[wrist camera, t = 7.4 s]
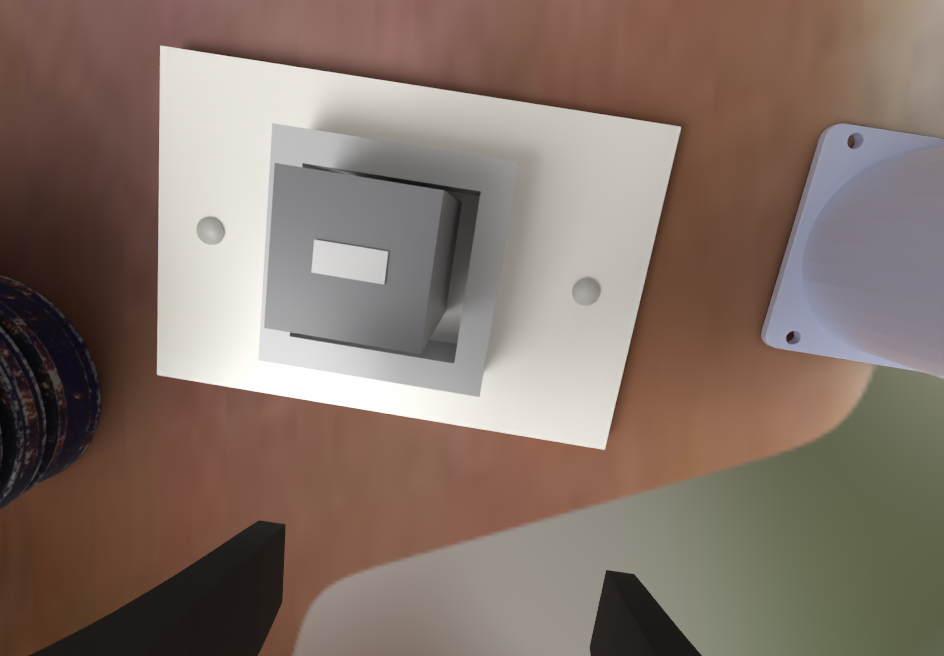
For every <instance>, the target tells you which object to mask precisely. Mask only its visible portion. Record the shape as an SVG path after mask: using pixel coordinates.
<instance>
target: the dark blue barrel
mask: <svg viewBox="0 0 944 656" xmlns="http://www.w3.org/2000/svg"><path fill="white" fill-rule="evenodd" d="M100 408H101V396H100V386H99V380H98V375H97V371H96V368H95V365H94V363H93V360H92V357H91V355H90V353H89V351H88V349H87V347H86V345H85V343H84V341H83V339H82V338H81V336H80V335H79V333H78V332H77V330H76V329H75V328H74V326H73V325H72V323H71V322H70V321H69V320H68V319H67V318H66V317H65V316H64V315H63V313H62V312H61V311H60V310H59V309H58V308H57V307H55V306H54V305H53V304H52V303H51V302H50V301H48V300H47V299H46V298H45V297H44V296H42V295H41V294H39V293H37V292H36V291H34V290H33V289H31V288H30V287H28V286H26V285H24V284H22V283H20V282H18V281H16V280H14V279H12V278H9V277H6V276H3V275H0V509H2V508H3V507H5V506H7V505H9V504H10V503H11V502H12V501H14V500H15V499H16V498H17V497H19V496H20V495H21V494H22V493H24V492H26V491H28V490H29V489H31V488H32V487H34V486H35V485H36V484H37V483H40V482H43V481H45V480H46V479H48V478H50V477H52V476H54V475H56V474H58V473H59V472H61V471H63V470H65V469H66V468H68V467H69V466H70V465H71V464H73V463H74V462H75V461H76V460H78V459H79V457H80V456H81V455H82V454H83V453H84V451H85V450H86V449H87V447H88V446H89V444H90V442H91V440H92V438H93V437H94V434H95V431H96V428H97V425H98V422H99V415H100Z"/></svg>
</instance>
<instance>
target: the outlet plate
mask: <svg viewBox="0 0 944 656" xmlns="http://www.w3.org/2000/svg"><path fill="white" fill-rule="evenodd" d="M680 130H681V127H680V126H674V125H667V124H661V123H654V122H648V121H641V120H635V119H629V118H622V117H616V116H609V115H603V114H597V113H590V112H584V111H577V110H571V109H564V108H558V107H552V106H545V105H539V104H532V103H526V102H519V101H513V100H507V99H500V98H494V97H487V96H481V95H475V94H468V93H462V92H455V91H449V90H442V89H436V88H430V87H423V86H417V85H410V84H404V83H397V82H391V81H385V80H378V79H372V78H365V77H359V76H353V75H346V74H340V73H333V72H327V71H320V70H314V69H308V68H301V67H295V66H288V65H282V64H275V63H269V62H263V61H256V60H250V59H243V58H237V57H231V56H224V55H218V54H211V53H205V52H198V51H192V50H186V49H179V48H173V47H166V46H160V120H159V222H158V324H157V375H160V376H166V377H172V378H178V379H184V380H190V381H196V382H202V383H208V384H214V385H220V386H226V387H232V388H238V389H244V390H250V391H256V392H262V393H268V394H274V395H280V396H286V397H292V398H298V399H304V400H310V401H316V402H322V403H328V404H334V405H340V406H346V407H352V408H358V409H364V410H370V411H376V412H382V413H388V414H394V415H400V416H406V417H412V418H418V419H424V420H430V421H436V422H442V423H448V424H454V425H460V426H465V427H471V428H477V429H483V430H489V431H495V432H501V433H507V434H513V435H519V436H525V437H531V438H537V439H543V440H549V441H555V442H561V443H567V444H573V445H579V446H585V447H591V448H597V449H603V450H605V447H606V442H607V438H608V434H609V430H610V426H611V421H612V417H613V413H614V409H615V404H616V400H617V396H618V392H619V388H620V383H621V379H622V375H623V371H624V366H625V362H626V358H627V354H628V350H629V345H630V341H631V337H632V333H633V329H634V324H635V320H636V316H637V312H638V307H639V303H640V299H641V295H642V291H643V286H644V282H645V278H646V274H647V270H648V265H649V261H650V257H651V253H652V248H653V244H654V240H655V236H656V232H657V227H658V223H659V219H660V215H661V211H662V206H663V202H664V198H665V194H666V189H667V185H668V181H669V177H670V173H671V168H672V164H673V160H674V156H675V152H676V147H677V143H678V139H679V135H680ZM275 163H279V164H285V165H291V166H297V167H303V168H309V169H316V170H322V171H328V172H334V173H340V174H346V175H352V176H359V177H365V178H371V179H377V180H383V181H389V182H395V183H402V184H408V185H414V186H420V187H426V188H432V189H438V190H444V191H445V192H447V193H448V194H450V195H451V196H453V197H454V198H456V199H458V200H459V201H461V202H462V206H461V213H460V219H459V226H458V233H457V239H456V246H455V253H454V259H453V266H452V273H451V279H450V286H449V293H448V299H447V306H446V312H445V314H444V315H443V317H442V319H441V320H440V322H439V324H438V325H437V327H436V329H435V331H434V332H433V334H432V336H431V337H430V339H429V341H428V342H427V344H426V346H425V348H424V349H423V351H422V353H421V354H416V353H410V352H404V351H398V350H392V349H386V348H380V347H374V346H368V345H362V344H357V343H351V342H345V341H339V340H333V339H327V338H321V337H315V336H309V335H303V334H297V333H291V332H285V331H279V330H273V329H267V328H264V322H265V307H266V291H267V276H268V260H269V245H270V229H271V214H272V198H273V183H274V167H275Z"/></svg>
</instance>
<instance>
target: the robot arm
mask: <svg viewBox="0 0 944 656" xmlns="http://www.w3.org/2000/svg"><path fill="white" fill-rule="evenodd" d="M850 135H851V136H853V137H854V139H855V144H854V146H853V148H849V146H848V144H847V140H848V138H849V136H850ZM791 331H793V332H794V337H793V339H792V340H791V341H789V342H787V341H786V336H787V334H788V333H789V332H791ZM761 337H762V340H763V342H764V343H765V344H767V345H769V346H771V347H774V348H779V349H785V350H791V351H797V352H803V353H809V354H815V355H822V356H828V357H834V358H840V359H846V360H852V361H858V362H865V363H871V364H877V365H883V366H889V367H895V368H901V369H908V370H914V371H920V372H925V373H928V374H931V375H934V376H936V377H939V378H942V379H944V139H942V138H936V137H929V136H923V135H916V134H910V133H903V132H897V131H891V130H884V129H878V128H871V127H865V126H858V125H852V124H845V123H842V124H836V125H832V126H830V127H828V128H826V129H825V130H824V131H823V132H822V134H821V136H820V138H819V141H818V144H817V147H816V151H815V154H814V158H813V161H812V164H811V168H810V171H809V174H808V178H807V181H806V184H805V188H804V191H803V194H802V198H801V201H800V204H799V208H798V211H797V214H796V218H795V221H794V224H793V228H792V231H791V234H790V238H789V241H788V245H787V248H786V251H785V255H784V258H783V261H782V265H781V268H780V271H779V275H778V278H777V281H776V285H775V288H774V291H773V295H772V298H771V301H770V305H769V308H768V311H767V315H766V318H765V321H764V325H763V328H762V332H761ZM285 525H286V524H279V523H272V522H265V521H258V522H256V523H254V524H253V525H251V526H249V527H248V528H246V529H245V530H243V531H242V532H240V533H239V534H237V535H236V536H234V537H233V538H231V539H230V540H228V541H227V542H225V543H224V544H222V545H221V546H219V547H218V548H216V549H215V550H213V551H212V552H210V553H209V554H207V555H206V556H204V557H203V558H201V559H199V560H198V561H196V562H195V563H193V564H192V565H190V566H189V567H187V568H186V569H184V570H182V571H181V572H179V573H178V574H176V575H175V576H173V577H172V578H170V579H168V580H167V581H165V582H163V583H162V584H160V585H158V586H157V587H155V588H153V589H152V590H150V591H148V592H146V593H145V594H143V595H141V596H140V597H138V598H136V599H135V600H133V601H131V602H130V603H128V604H126V605H125V606H123V607H121V608H120V609H118V610H116V611H114V612H113V613H111V614H109V615H107V616H105V617H104V618H102V619H100V620H98V621H96V622H94V623H93V624H91V625H89V626H87V627H85V628H83V629H81V630H79V631H77V632H75V633H73V634H71V635H69V636H67V637H66V638H64V639H62V640H60V641H58V642H56V643H54V644H52V645H50V646H48V647H46V648H44V649H42V650H40V651H38V652H35V653H33V654H31V655H29V656H257V655H258V654H259V652H260V650H261V648H262V646H263V644H264V642H265V639H266V637H267V635H268V633H269V631H270V629H271V626H272V624H273V622H274V619H275V617H276V615H277V613H278V610H279V608H280V606H281V603H282V595H283V572H284V548H285ZM590 653H591V656H702V655H701V654H700V653H699V652H698V651H697V650H696V648H695V647H694V646H693V645H692V644H691V643H690V641H688V639H687V638H686V637H685V636H684V634H683V633H682V632H681V631H680V630H679V628H678V627H677V626H676V625H675V623H674V622H673V621H672V620H671V619H670V618H669V616H668V615H667V614H666V613H665V612H664V610H663V609H662V608H661V606H660V605H659V604H658V603H657V601H656V600H655V599H654V598H653V597H652V595H651V594H650V593H649V592H648V590H647V589H646V588H645V587H644V585H643V584H642V583H641V582H640V581H639V579H638V578H637V577H636V576H635V575H634V574H629V573H622V572H615V571H608V570H606V574H605V579H604V583H603V588H602V593H601V597H600V602H599V607H598V611H597V616H596V621H595V625H594V630H593V634H592V639H591V644H590Z"/></svg>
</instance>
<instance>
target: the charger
mask: <svg viewBox="0 0 944 656" xmlns="http://www.w3.org/2000/svg"><path fill="white" fill-rule="evenodd" d="M461 206H462V202H461V201H459V200H458V199H456V198H454V197H453V196H451V195H450V194H448V193H447V192H445V191H444V190H438V189H432V188H426V187H420V186H414V185H408V184H402V183H395V182H389V181H383V180H377V179H371V178H365V177H359V176H352V175H346V174H340V173H334V172H328V171H322V170H316V169H309V168H303V167H297V166H291V165H285V164H279V163H275V167H274V183H273V198H272V214H271V229H270V245H269V260H268V276H267V291H266V307H265V322H264V328H267V329H273V330H279V331H285V332H291V333H297V334H303V335H309V336H315V337H321V338H327V339H333V340H339V341H345V342H351V343H357V344H362V345H368V346H374V347H380V348H386V349H392V350H398V351H404V352H410V353H416V354H421V353H422V351H423V349H424V348H425V346H426V344H427V342H428V341H429V339H430V337H431V336H432V334H433V332H434V331H435V329H436V327H437V325H438V324H439V322H440V320H441V319H442V317H443V315H444V314H445V312H446V306H447V299H448V293H449V286H450V279H451V273H452V266H453V259H454V253H455V246H456V239H457V233H458V226H459V219H460V213H461Z"/></svg>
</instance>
